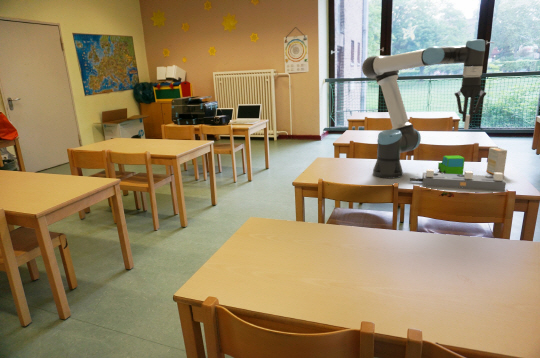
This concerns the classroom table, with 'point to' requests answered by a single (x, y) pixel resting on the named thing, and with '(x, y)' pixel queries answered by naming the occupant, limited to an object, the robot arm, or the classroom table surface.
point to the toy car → (452, 165)
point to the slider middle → (468, 175)
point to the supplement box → (496, 160)
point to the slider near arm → (429, 173)
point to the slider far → (498, 176)
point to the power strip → (461, 181)
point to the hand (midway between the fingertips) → (466, 128)
